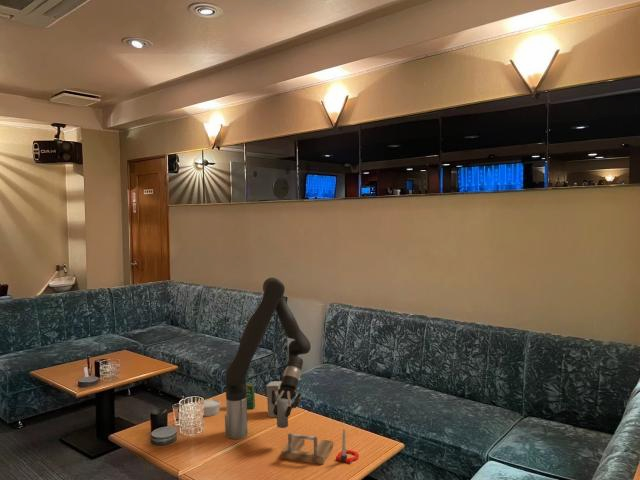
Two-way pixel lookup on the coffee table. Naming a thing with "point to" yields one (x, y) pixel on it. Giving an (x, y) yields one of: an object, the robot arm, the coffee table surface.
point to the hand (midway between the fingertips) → (281, 415)
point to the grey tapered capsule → (282, 413)
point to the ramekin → (211, 407)
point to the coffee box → (250, 395)
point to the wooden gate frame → (317, 456)
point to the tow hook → (342, 454)
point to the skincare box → (270, 387)
